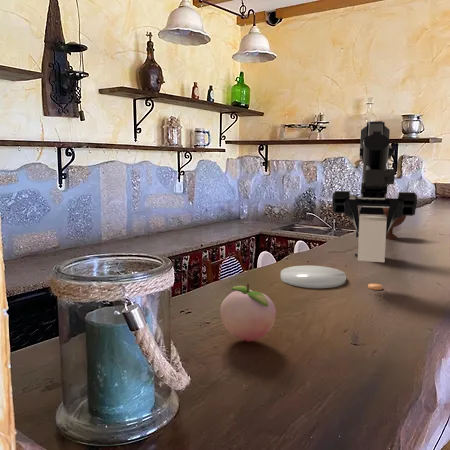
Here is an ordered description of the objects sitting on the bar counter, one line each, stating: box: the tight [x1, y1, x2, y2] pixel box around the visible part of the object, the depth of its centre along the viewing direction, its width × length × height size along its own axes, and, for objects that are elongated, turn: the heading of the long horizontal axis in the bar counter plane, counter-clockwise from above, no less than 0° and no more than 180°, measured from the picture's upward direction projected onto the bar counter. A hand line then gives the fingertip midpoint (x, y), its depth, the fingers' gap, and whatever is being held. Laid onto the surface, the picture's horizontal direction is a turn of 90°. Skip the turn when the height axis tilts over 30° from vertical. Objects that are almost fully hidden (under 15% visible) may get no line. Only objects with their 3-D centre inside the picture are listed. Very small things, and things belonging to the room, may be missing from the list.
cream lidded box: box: [357, 214, 387, 263], centre depth 103 cm, size 6×6×10 cm
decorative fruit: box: [219, 283, 277, 343], centre depth 74 cm, size 9×8×10 cm
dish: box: [280, 265, 347, 289], centre depth 112 cm, size 16×16×2 cm
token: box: [367, 283, 383, 291], centre depth 105 cm, size 3×3×1 cm
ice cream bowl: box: [383, 198, 407, 240], centre depth 167 cm, size 11×11×15 cm
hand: (372, 231), depth 102 cm, fingers closed on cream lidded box, 6 cm apart
